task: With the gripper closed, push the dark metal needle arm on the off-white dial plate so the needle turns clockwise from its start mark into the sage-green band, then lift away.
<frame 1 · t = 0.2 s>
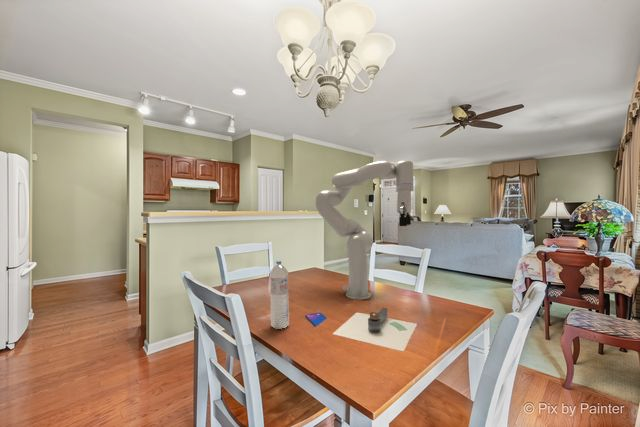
hand: (405, 225, 124), 36 cm above the table, tool pointing down, fingers open, 9 cm apart
dial plate: (376, 332, 96), on the table
needle: (379, 316, 99), point 5 cm above the table, hinge at 0.0°
smartphone: (319, 322, 107), on the table
water bottle: (280, 326, 103), on the table
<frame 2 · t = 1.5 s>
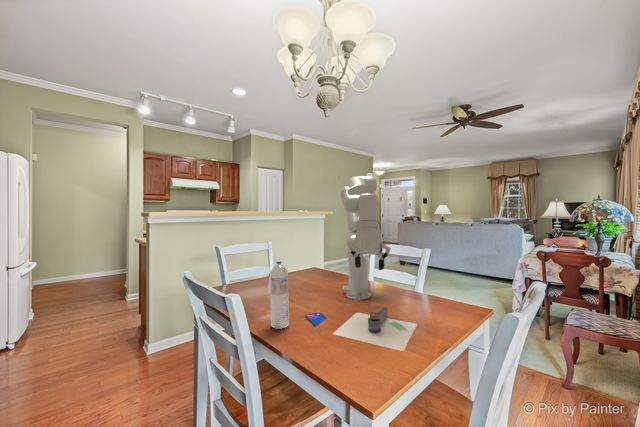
hand: (369, 268, 106), 21 cm above the table, tool pointing down, fingers open, 9 cm apart
nothing on the table moved.
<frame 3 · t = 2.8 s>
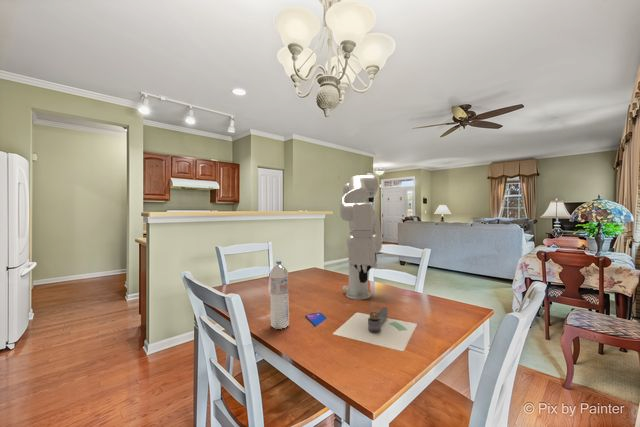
hand: (363, 281, 104), 16 cm above the table, tool pointing down, fingers closed
nothing on the table moved.
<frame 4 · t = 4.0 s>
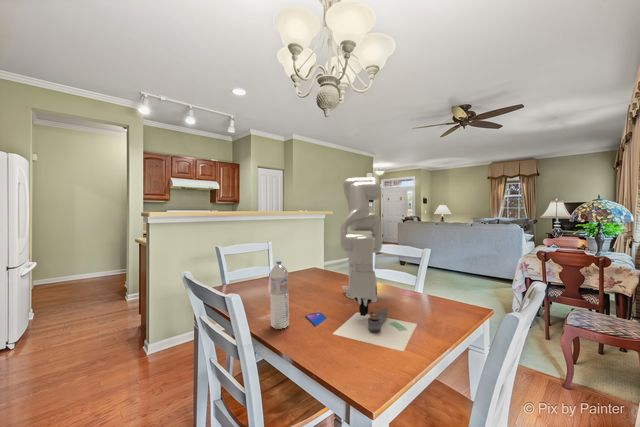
hand: (363, 314, 105), 3 cm above the table, tool pointing down, fingers closed
nothing on the table moved.
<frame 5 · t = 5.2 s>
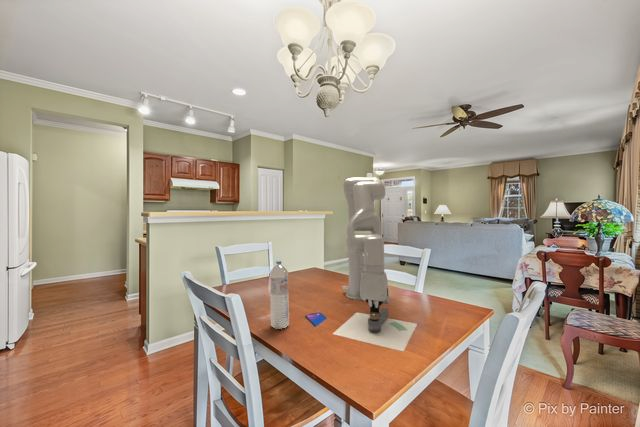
hand: (374, 316, 103), 3 cm above the table, tool pointing down, fingers closed
needle: (379, 316, 99), point 5 cm above the table, hinge at -1.3°, touching gripper
everything else where it was.
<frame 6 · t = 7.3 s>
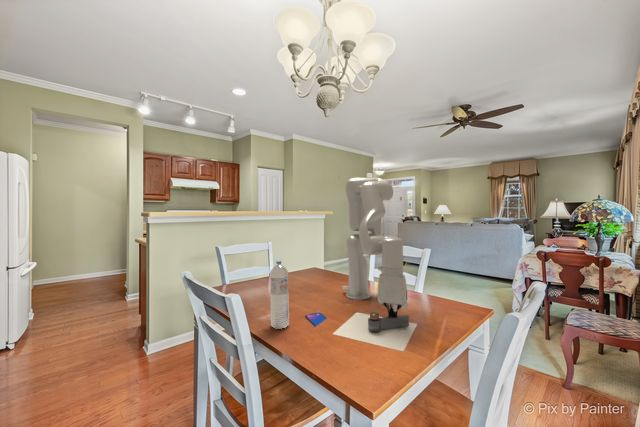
hand: (392, 320, 99), 3 cm above the table, tool pointing down, fingers closed
needle: (388, 320, 96), point 5 cm above the table, hinge at -46.1°, touching gripper
everything else where it was.
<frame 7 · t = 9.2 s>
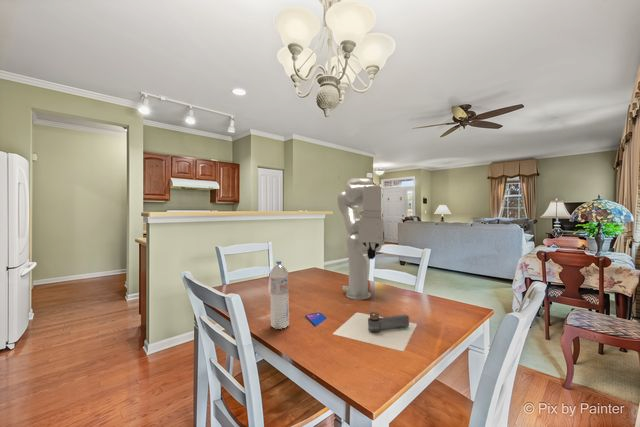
hand: (371, 258, 113), 24 cm above the table, tool pointing down, fingers closed
needle: (388, 320, 96), point 5 cm above the table, hinge at -46.2°
everything else where it was.
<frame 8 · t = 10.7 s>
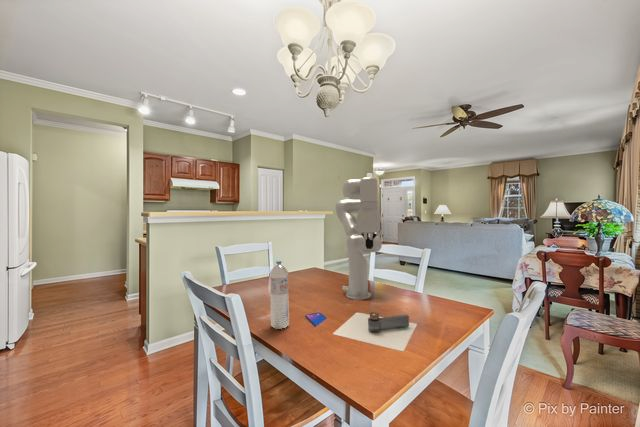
hand: (369, 248, 117), 27 cm above the table, tool pointing down, fingers closed
nothing on the table moved.
at the end: needle at -46° (first picture: +0°); smartphone moved 0.6 cm from its start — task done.
